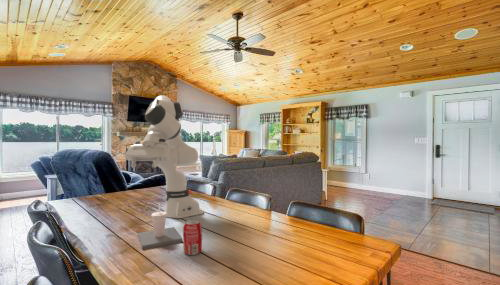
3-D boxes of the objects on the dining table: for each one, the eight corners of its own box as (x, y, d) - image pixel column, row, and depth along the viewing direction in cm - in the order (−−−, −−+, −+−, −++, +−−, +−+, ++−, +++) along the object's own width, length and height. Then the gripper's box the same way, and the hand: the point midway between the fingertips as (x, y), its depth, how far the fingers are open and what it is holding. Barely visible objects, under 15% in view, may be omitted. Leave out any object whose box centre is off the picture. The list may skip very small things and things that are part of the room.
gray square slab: (174, 230, 124) (174, 227, 124) (182, 241, 110) (182, 238, 110) (138, 236, 116) (137, 232, 116) (141, 249, 102) (141, 245, 102)
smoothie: (168, 232, 116) (168, 201, 116) (164, 238, 110) (164, 205, 109) (154, 233, 116) (153, 202, 115) (149, 238, 109) (149, 205, 109)
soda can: (194, 246, 105) (194, 217, 104) (205, 251, 100) (205, 221, 100) (179, 252, 99) (179, 221, 99) (191, 258, 95) (191, 225, 94)
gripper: (129, 139, 124) (118, 162, 114) (171, 140, 123) (163, 162, 114) (133, 148, 129) (123, 170, 119) (174, 148, 128) (167, 171, 118)
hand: (143, 166), depth 116 cm, fingers open, 8 cm apart
